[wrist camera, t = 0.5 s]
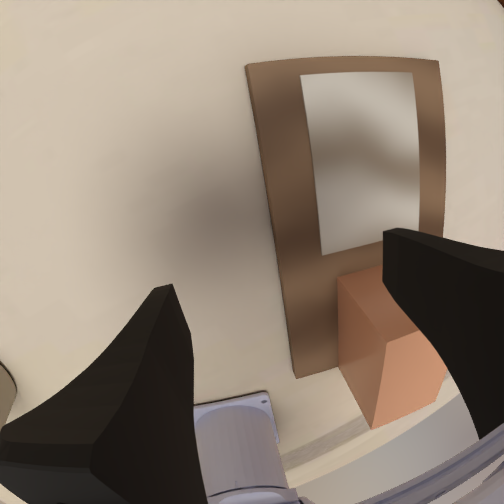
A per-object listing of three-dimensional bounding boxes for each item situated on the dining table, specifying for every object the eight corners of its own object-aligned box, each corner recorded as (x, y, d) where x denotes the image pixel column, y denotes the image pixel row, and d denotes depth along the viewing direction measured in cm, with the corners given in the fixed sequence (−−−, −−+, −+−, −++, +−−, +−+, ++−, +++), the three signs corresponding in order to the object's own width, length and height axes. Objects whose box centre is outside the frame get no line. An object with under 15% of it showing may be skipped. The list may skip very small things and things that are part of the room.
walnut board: (422, 327, 27) (428, 334, 26) (293, 370, 26) (296, 380, 25) (429, 61, 17) (439, 60, 16) (244, 66, 16) (247, 63, 15)
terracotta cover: (395, 346, 26) (435, 401, 19) (338, 366, 25) (371, 430, 19) (405, 257, 22) (464, 310, 15) (336, 277, 21) (386, 342, 15)
